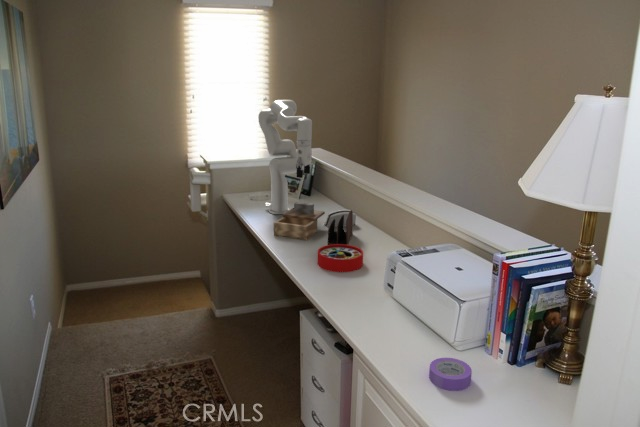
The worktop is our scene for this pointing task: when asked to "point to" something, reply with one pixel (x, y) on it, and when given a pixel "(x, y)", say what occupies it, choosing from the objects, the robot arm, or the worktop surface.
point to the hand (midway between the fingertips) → (303, 175)
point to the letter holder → (341, 231)
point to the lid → (304, 212)
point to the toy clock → (340, 258)
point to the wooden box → (295, 228)
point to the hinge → (338, 217)
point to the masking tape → (450, 381)
